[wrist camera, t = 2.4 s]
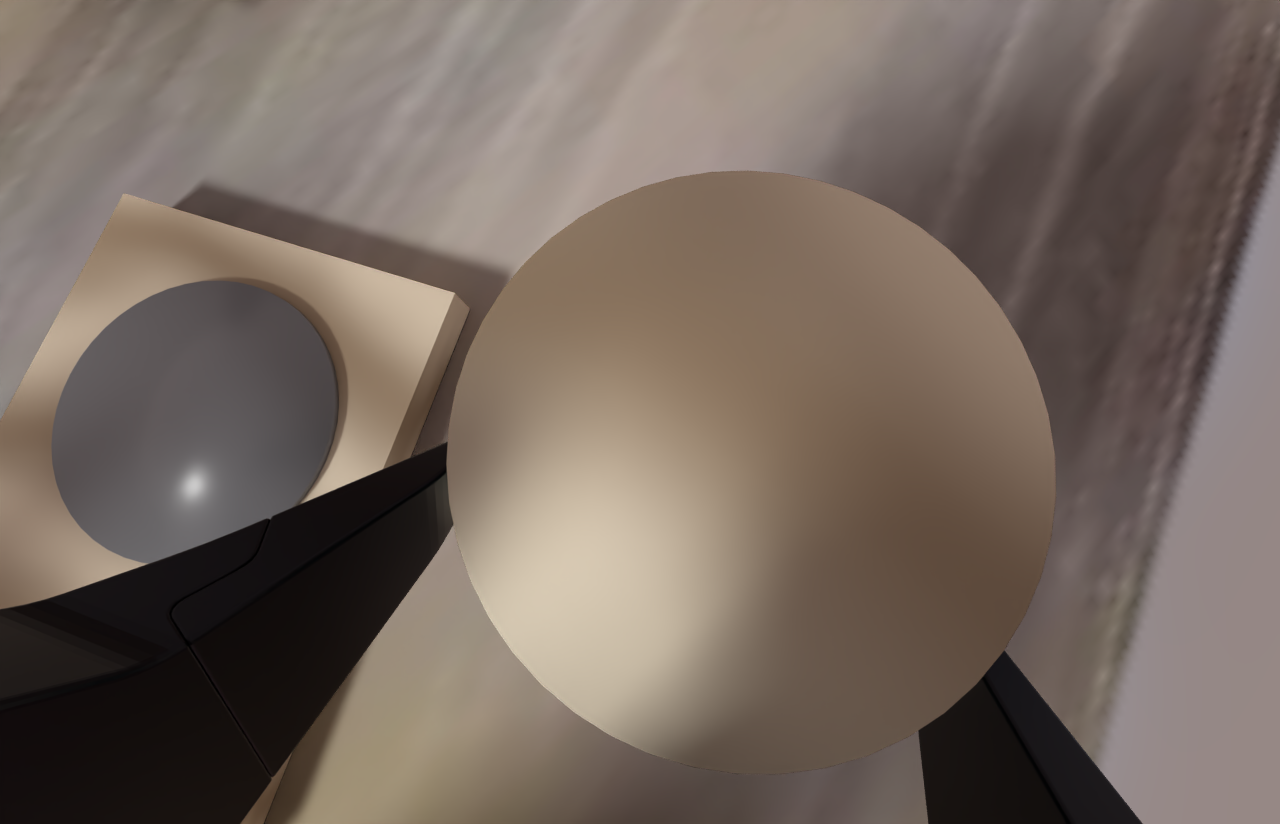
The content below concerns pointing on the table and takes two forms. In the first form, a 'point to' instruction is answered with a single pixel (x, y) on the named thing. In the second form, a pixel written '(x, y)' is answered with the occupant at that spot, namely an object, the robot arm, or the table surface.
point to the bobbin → (751, 472)
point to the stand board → (205, 397)
